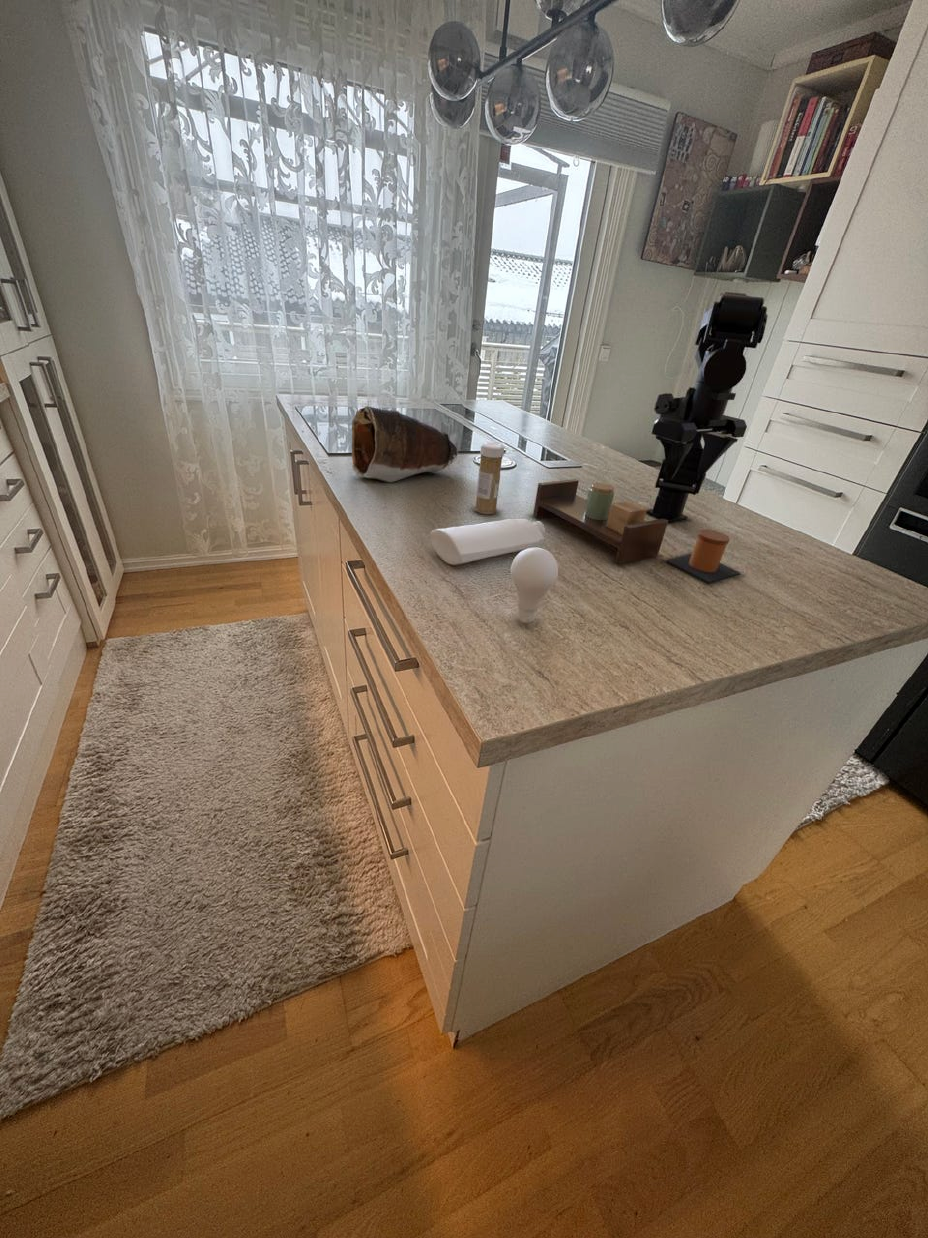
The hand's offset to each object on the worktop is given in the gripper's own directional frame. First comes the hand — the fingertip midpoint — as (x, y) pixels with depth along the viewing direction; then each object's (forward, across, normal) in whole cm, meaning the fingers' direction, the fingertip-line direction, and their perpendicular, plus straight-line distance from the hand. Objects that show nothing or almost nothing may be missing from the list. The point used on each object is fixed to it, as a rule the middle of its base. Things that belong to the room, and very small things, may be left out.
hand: (685, 476), depth 94 cm
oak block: (+9, +12, -1) cm, 15 cm away
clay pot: (+13, +29, -53) cm, 62 cm away
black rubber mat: (+13, +3, +11) cm, 17 cm away
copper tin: (+13, +3, +11) cm, 17 cm away
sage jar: (+9, +12, -8) cm, 17 cm away
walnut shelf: (+13, +12, -8) cm, 19 cm away
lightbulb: (+13, +44, +12) cm, 47 cm away
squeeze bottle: (+13, +35, -9) cm, 38 cm away
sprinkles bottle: (+13, +25, -26) cm, 38 cm away
